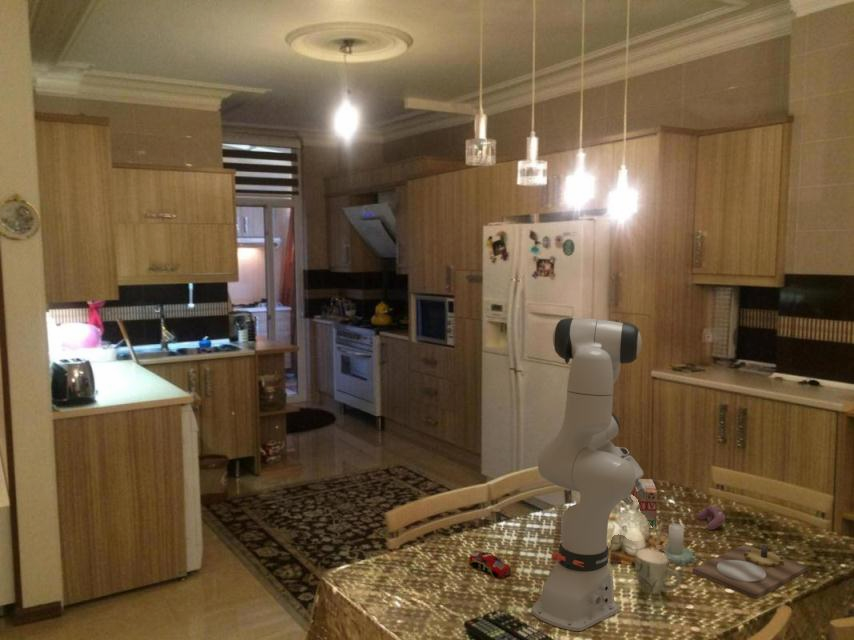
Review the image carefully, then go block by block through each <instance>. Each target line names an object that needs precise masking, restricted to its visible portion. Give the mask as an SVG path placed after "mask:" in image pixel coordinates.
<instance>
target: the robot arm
mask: <svg viewBox="0 0 854 640" xmlns="http://www.w3.org/2000/svg"><path fill="white" fill-rule="evenodd" d="M639 330H640V329H639V328H638V327H637V326H636V325H635V324H633V323H630V322H624V321H623V323H622V322H618V321H613V320H607V319H606V320H605V319H599V318H573V317H569V318H563V319H560V320H559V321H558V322H557V323H556V326H555V328H554V330H553V334H552V344H553V347H554V352H555V353H556V354H557V355H558V357H560V358H561V359H563V360H564V362H565V364H567V365H568V364H569V362H570V359H571V360H572V361H571V363H570V368H569V372H568V378H567V389H566V400H565V401H566V402H565V410H564V411H565V412H564V419H563V422H562V424H561V428H560V430H559V431H558V433H557V435H556V436H555V438H554V439H552V440H551V441H550V442H549V443H547V444H546V445H545V446H543V448H542V449H541V450H540V452H539V453H538V458H537V469H538V471H539V474H540V476H541V478H543V479H545V480H547V481H548V482H550V483H552V484H554V485H555V486H558V487H561V488H565V489H568V490H571V491H575V492H578V493H579V495H580V497H579V502H578V503H576V504H573V505H570V506H569V507H567V508H566V509H565V510H564V512H563V514H562V515H561V541H560V543H559V547H558V550H557V551H553V553H552V555H551V559H552V561H554V562H555V561H556V563H555V565H554V566H553V568H552V569H551V572H550V573H549V575H548V577H547V579H546V581H545V582H544V585H543V587H542V589H541V595H540V597H539V598H538V600H537V601H536V602H535V603H534V604H533V605H532V607H531V609H530V612H531V614H532V615H533V616H534V617H535V618H537V619H539V620H541V621H542V622H544V623H547V624H549V625H551V626H554V627H556V628H557V627H558V628H561V629H564V630H568V631H574V632H582V631H584V630H587V629H588V628H590V627H592V626H594V625H596V624H598V623H600V622H602V621H604V620H606V619H608V618H610V617H611V616H613V615H615V614H617V613H619V612H620V610H619V606H618V604H617V603H616V602H615V592H614V591H615V590H614V577H613V575H612V572H611V571H610V568H609V566H608V564H609V557H610V552H609V546H608V543H607V542H608V541H607V539H608V526H609V519H610V516H611V513H612V511H613V509H614V508H615V506H617V504H618V503H619V502H622V501H623V502H624V503H625V505H627V506H629V505H631V503H632V502H633V500H632V499H631V492H632V491H633V489H634V486H636V487H637V489H638V493H639V494H640V496H643V495H644V494H646V493H647V491H646V490H645V489H644V488H643V484H642V481H641V480H640V479H642V477H643V476H644V475H645V474H644V470H643V469H642V468H641V466H640V465H639V463H638V462H637V461H636V460H635V459H634V457H633V456H632V455H630V451H629V450H628V449H627V448H626V447H622V446H621V447H620V446H616V445H615V444H614V443H613V442H612V441H611V440H613V439H614V438H616V436H617V435H618V434H619V433H620V429H621V426H620V425H621V424H620V420H619V419H618V417H617V416H616V415H615V413H614V412H613V402H614V385H615V384H616V382H617V381H618V379H619V376H620V372H621V367H622V366H621V365H624V364H631V363H633V362H634V361H636V360H637V358H638V356H639V355H640V353H641V350H642V342H643V340H642V336H641V335H642V334H641V333H640V331H639Z"/></svg>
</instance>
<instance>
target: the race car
mask: <svg viewBox="0 0 854 640" xmlns="http://www.w3.org/2000/svg"><path fill="white" fill-rule="evenodd" d="M468 562H469V563H468V564H469V565H470V566H472V568H473V569H475V570H479V571H481V572H483V573H485V574H488V575H489V576H493V577H494V578H496V579H499V578H500V579H501V578H503V579H504V578H507V577H509V576H510V575H511V567H510V566H509V565H508V564H507V563H505V562H503V560H502V558H499V557H497V556H496V555H495V554H492V553H490V552H486V551H476V552H474V553H471V554H470V557H469V559H468Z"/></svg>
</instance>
